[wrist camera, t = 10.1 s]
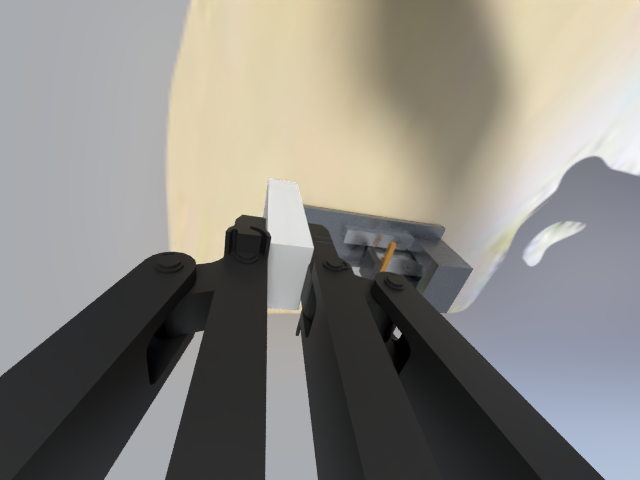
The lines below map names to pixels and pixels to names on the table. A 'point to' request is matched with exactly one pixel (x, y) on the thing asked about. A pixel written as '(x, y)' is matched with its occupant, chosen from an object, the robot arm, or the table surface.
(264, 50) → the table surface
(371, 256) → the orange-striped grey block
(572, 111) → the table surface
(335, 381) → the robot arm
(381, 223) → the gauge base
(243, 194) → the table surface
